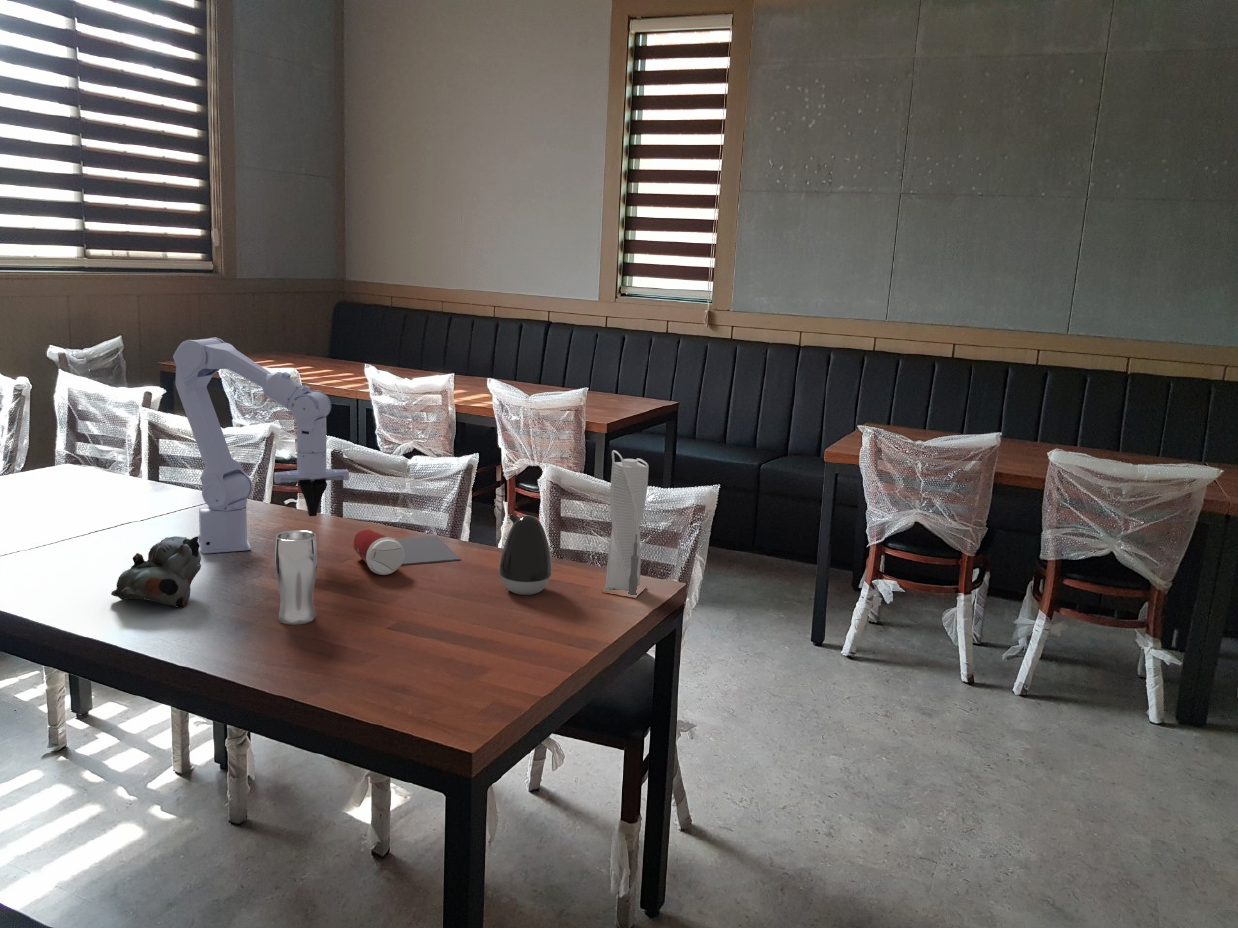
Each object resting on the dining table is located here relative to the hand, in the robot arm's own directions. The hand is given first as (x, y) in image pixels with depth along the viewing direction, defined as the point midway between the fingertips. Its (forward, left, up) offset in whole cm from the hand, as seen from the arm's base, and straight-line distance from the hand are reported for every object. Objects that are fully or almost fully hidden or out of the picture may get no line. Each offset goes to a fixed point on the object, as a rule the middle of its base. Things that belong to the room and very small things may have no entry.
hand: (312, 515), depth 196 cm
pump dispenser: (+35, -33, -9) cm, 49 cm away
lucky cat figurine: (-30, -19, -9) cm, 36 cm away
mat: (+20, -2, -9) cm, 22 cm away
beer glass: (-8, -35, -9) cm, 37 cm away
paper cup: (+10, -3, -6) cm, 12 cm away
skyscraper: (+54, -38, -9) cm, 66 cm away
